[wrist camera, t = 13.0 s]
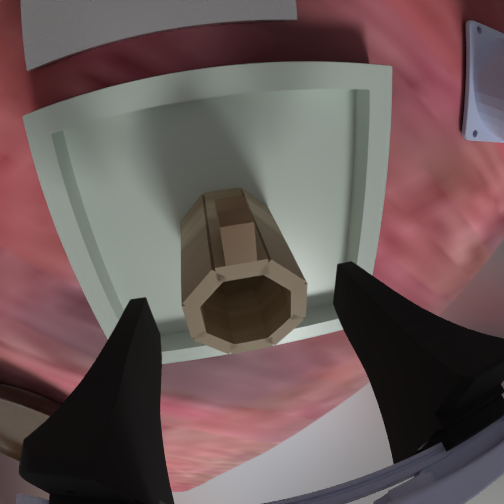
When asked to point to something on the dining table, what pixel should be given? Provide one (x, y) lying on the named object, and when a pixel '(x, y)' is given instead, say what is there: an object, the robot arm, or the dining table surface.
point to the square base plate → (128, 21)
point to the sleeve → (238, 274)
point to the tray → (215, 178)
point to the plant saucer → (21, 417)
